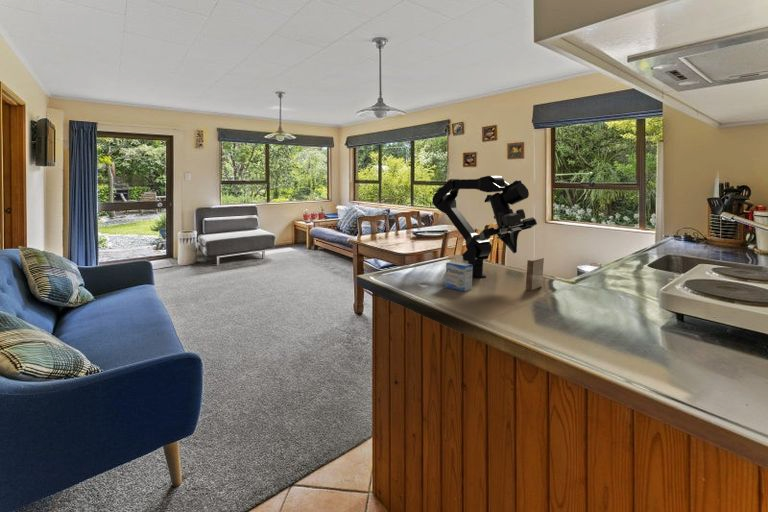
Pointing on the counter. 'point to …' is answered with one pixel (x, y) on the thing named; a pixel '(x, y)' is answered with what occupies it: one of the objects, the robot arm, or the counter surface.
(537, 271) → the walnut tile
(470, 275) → the medicine box
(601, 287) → the counter surface
